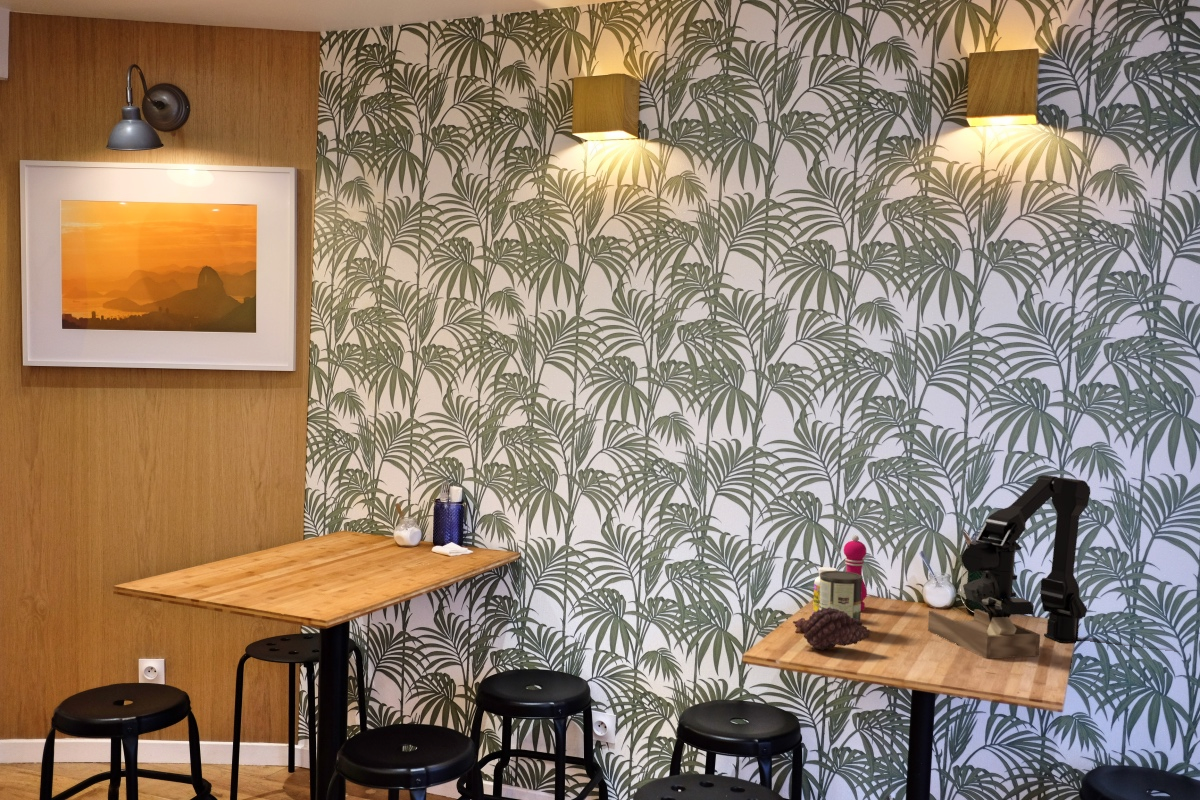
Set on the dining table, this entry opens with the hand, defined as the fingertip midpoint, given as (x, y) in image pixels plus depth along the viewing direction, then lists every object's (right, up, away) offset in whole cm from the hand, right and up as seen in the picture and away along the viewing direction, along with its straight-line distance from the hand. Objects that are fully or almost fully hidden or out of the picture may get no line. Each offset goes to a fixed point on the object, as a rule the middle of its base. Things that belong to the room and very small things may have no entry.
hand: (995, 634), depth 248 cm
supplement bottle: (-35, -2, +26) cm, 43 cm away
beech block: (0, 0, -2) cm, 2 cm away
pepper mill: (-25, -1, +37) cm, 44 cm away
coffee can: (-34, -2, +13) cm, 36 cm away
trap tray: (-1, -3, +6) cm, 7 cm away
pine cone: (-40, -3, -5) cm, 41 cm away
